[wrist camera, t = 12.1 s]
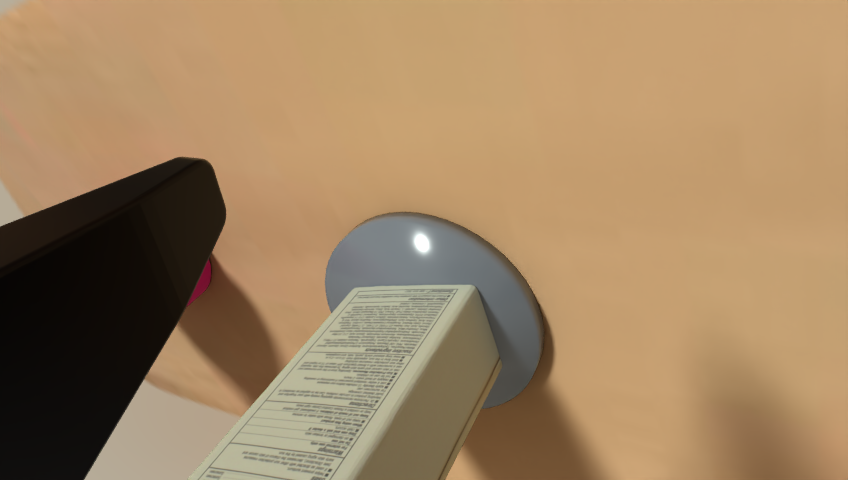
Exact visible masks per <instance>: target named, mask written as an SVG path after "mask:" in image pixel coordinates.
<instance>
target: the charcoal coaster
mask: <svg viewBox="0 0 848 480" xmlns="http://www.w3.org/2000/svg"><path fill="white" fill-rule="evenodd" d="M409 285H474V286H475V287H476V288H477V290H478V292H479V295H480V298H481V301H482V304H483V307H484V310H485V313H486V316H487V319H488V322H489V325H490V328H491V331H492V334H493V337H494V340H495V343H496V346H497V349H498V353H499V356H500V359H501V362H502V368H501V370H500V372H499V374H498V376H497V378H496V380H495V382H494V384H493V386H492V388H491V390H490V392H489V394H488V396H487V398H486V400H485V402H484V404H483V406H482V408H481V409H485V408H490V407H494V406H498V405H501V404H503V403H505V402H507V401H509V400H511V399H512V398H514V397H515V396H517V395H518V394H519V393H520V392H521V391H522V390H523V389H524V388H525V387H526V386H527V385H528V383H529V382H530V380H531V379H532V376H533V374H534V372H535V370H536V368H537V365H538V363H539V361H540V358H541V356H542V352H543V347H544V326H543V319H542V316H541V312H540V309H539V306H538V304H537V301H536V299H535V297H534V295H533V293H532V291H531V289H530V288H529V286H528V284H527V283H526V281H525V279H524V278H523V277H522V275H521V274H520V273H519V272H518V270H517V269H516V268H515V267H514V265H513V264H512V263H511V262H510V261H509V260H508V259H507V258H506V257H505V256H504V255H503V254H502V253H501V252H499V251H498V250H497V249H496V248H495V247H494V246H492V245H491V244H490V243H488V242H487V241H485V240H484V239H483V238H481V237H480V236H478V235H477V234H475V233H473V232H471V231H469V230H468V229H466V228H464V227H462V226H460V225H458V224H455V223H453V222H450V221H448V220H445V219H442V218H439V217H435V216H432V215H427V214H421V213H413V212H395V213H387V214H382V215H378V216H375V217H373V218H370V219H368V220H365V221H364V222H362V223H361V224H359V225H357V226H356V227H355V228H354V229H353V230H352V231H351V232H350V233H349V234H348V235H347V236H346V237H345V238H344V239H343V240H342V241H341V242H340V243H339V244H338V245H337V247H336V248H335V249H334V251H333V253H332V255H331V257H330V259H329V262H328V265H327V269H326V277H325V288H326V296H327V301H328V305H329V308H330V311H331V313H332V312H333V311H334V310H335V309H336V308H337V307H338V305H339V304H340V303H341V302H342V301H343V300H344V299H345V297H346V296H347V295H348V294H349V293H350V292H351V291H352V290H353V289H354V288H358V287H374V286H409Z"/></svg>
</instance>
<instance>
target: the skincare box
mask: <svg viewBox="0 0 848 480" xmlns="http://www.w3.org/2000/svg"><path fill="white" fill-rule="evenodd" d="M501 368H502V362H501V359H500V356H499V353H498V349H497V346H496V343H495V340H494V337H493V334H492V331H491V328H490V325H489V322H488V319H487V316H486V313H485V310H484V307H483V304H482V301H481V298H480V295H479V292H478V290H477V288H476V287H475V286H474V285H409V286H374V287H358V288H354V289H353V290H352V291H351V292H350V293H349V294H348V295H347V296H346V297H345V299H344V300H343V301H342V302H341V303H340V304H339V305H338V307H337V308H336V309H335V310H334V311H333V312H332V313H331V315H330V316H329V317H328V318H327V319H326V321H325V322H324V323H323V324H322V325H321V326H320V327H319V328H318V330H317V331H316V332H315V333H314V334H313V336H312V337H311V338H310V339H309V340H308V341H307V342H306V344H305V345H304V346H303V347H302V348H301V349H300V350H299V352H298V353H297V354H296V355H295V356H294V357H293V359H292V360H291V361H290V362H289V363H288V364H287V365H286V366H285V368H284V369H283V370H282V371H281V372H280V373H279V375H278V376H277V377H276V378H275V379H274V380H273V381H272V383H271V384H270V385H269V386H268V387H267V389H266V390H265V391H264V392H263V393H262V394H261V395H260V396H259V398H258V399H257V400H256V401H255V402H254V403H253V404H252V406H251V407H250V408H249V409H248V410H247V411H246V412H245V414H244V415H243V416H242V417H241V418H240V419H239V421H238V422H237V423H236V424H235V425H234V426H233V427H232V428H231V430H230V431H229V432H228V433H227V434H226V436H225V437H224V438H223V439H222V440H221V441H220V442H219V444H218V445H217V446H216V447H215V448H214V449H213V451H212V452H211V453H210V454H209V455H208V456H207V458H206V459H205V460H204V461H203V462H202V463H201V464H200V466H199V467H198V468H197V469H196V470H195V471H194V472H193V473H192V475H191V476H190V477H189V478H188V479H187V480H445V479H446V477H447V475H448V473H449V471H450V469H451V467H452V465H453V463H454V461H455V459H456V457H457V455H458V453H459V451H460V449H461V447H462V446H463V443H464V441H465V439H466V437H467V435H468V433H469V431H470V430H471V428H472V426H473V424H474V422H475V420H476V418H477V416H478V414H479V412H480V410H481V408H482V406H483V404H484V402H485V400H486V398H487V396H488V394H489V392H490V390H491V388H492V386H493V384H494V382H495V380H496V378H497V376H498V374H499V372H500V370H501Z"/></svg>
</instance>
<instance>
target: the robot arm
mask: <svg viewBox="0 0 848 480" xmlns="http://www.w3.org/2000/svg"><path fill="white" fill-rule="evenodd" d="M225 220H226V207H225V203H224V200H223V197H222V194H221V191H220V188H219V184H218V181H217V178H216V175H215V172H214V169H213V167H212V165H211V164H210V163H209V162H208V161H207V160H205V159H199V158H189V157H177V158H174V159H172V160H169V161H167V162H164V163H162V164H159V165H156V166H154V167H151V168H149V169H146V170H144V171H141V172H139V173H136V174H133V175H131V176H128V177H126V178H123V179H121V180H118V181H116V182H113V183H110V184H108V185H105V186H103V187H100V188H98V189H95V190H92V191H90V192H87V193H85V194H82V195H80V196H77V197H75V198H72V199H69V200H67V201H64V202H62V203H59V204H57V205H54V206H52V207H49V208H46V209H44V210H41V211H39V212H36V213H34V214H31V215H28V216H26V217H23V218H21V219H18V220H16V221H13V222H11V223H8V224H5V225H3V226H1V227H0V480H84V479H85V477H86V476H87V474H88V472H89V471H90V469H91V467H92V466H93V464H94V462H95V461H96V459H97V457H98V456H99V454H100V452H101V451H102V449H103V447H104V446H105V444H106V442H107V440H108V439H109V437H110V435H111V434H112V432H113V430H114V429H115V427H116V426H117V424H118V422H119V420H120V419H121V417H122V415H123V414H124V412H125V410H126V409H127V407H128V405H129V404H130V402H131V400H132V399H133V397H134V395H135V394H136V392H137V390H138V388H139V387H140V385H141V384H142V382H143V380H144V379H145V377H146V375H147V374H148V372H149V370H150V369H151V367H152V365H153V363H154V362H155V360H156V358H157V357H158V355H159V353H160V352H161V350H162V348H163V347H164V345H165V343H166V342H167V340H168V338H169V337H170V335H171V333H172V332H173V330H174V328H175V327H176V325H177V323H178V321H179V320H180V318H181V316H182V314H183V312H184V311H185V309H186V307H187V304H188V302H189V300H190V298H191V296H192V294H193V292H194V290H195V288H196V286H197V283H198V281H199V279H200V277H201V275H202V273H203V270H204V268H205V266H206V264H207V262H208V259H209V257H210V255H211V253H212V251H213V249H214V246H215V244H216V242H217V240H218V238H219V236H220V233H221V231H222V229H223V227H224V224H225Z"/></svg>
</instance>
